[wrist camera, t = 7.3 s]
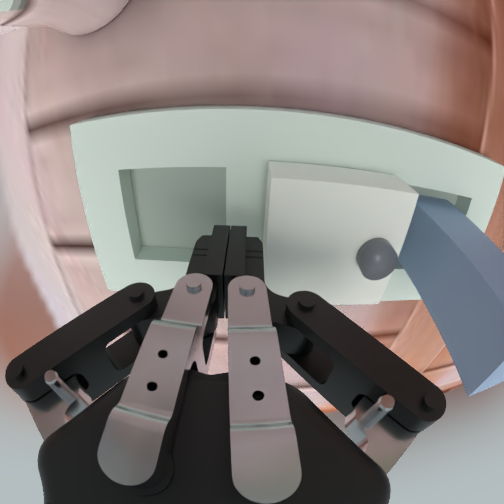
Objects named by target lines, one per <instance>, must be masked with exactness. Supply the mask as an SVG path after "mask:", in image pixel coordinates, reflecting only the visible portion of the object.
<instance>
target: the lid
mask: <svg viewBox="0 0 504 504" xmlns="http://www.w3.org/2000/svg"><path fill="white" fill-rule="evenodd" d="M418 196H419V194H418V193H417V192H416V191H415V190H413V189H412V188H411V187H410V186H409V185H408V184H406V183H405V182H404V181H403V180H401V179H400V178H399V177H398V176H396V175H390V174H384V173H378V172H371V171H364V170H357V169H350V168H342V167H333V166H324V165H315V164H304V163H292V162H277V161H268V176H267V191H266V205H265V219H264V233H263V258H264V280H265V284H266V286H267V287H268V288H269V289H270V290H271V291H272V292H274V293H276V294H278V295H281V296H285V297H289V296H290V295H291V294H292V293H294V292H297V291H310V292H313V293H316V294H317V295H319V296H320V297H322V298H323V299H324V300H326V301H327V302H328V303H329V304H331V305H360V304H379V302H380V300H381V298H382V296H383V293H384V291H385V289H386V286H387V284H388V282H389V279H390V277H391V274H392V272H393V270H394V269H395V268H396V266H397V263H398V257H399V254H400V251H401V248H402V246H403V243H404V240H405V237H406V234H407V231H408V228H409V225H410V222H411V219H412V216H413V213H414V210H415V206H416V203H417V199H418Z"/></svg>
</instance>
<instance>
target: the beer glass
mask: <svg viewBox="0 0 504 504" xmlns="http://www.w3.org/2000/svg"><path fill="white" fill-rule="evenodd" d="M128 2H129V0H0V34H3V33H7V32H10V31H14V30H18V29H23V28H28V27H34V26H47V27H52V28H55V29H57V30H59V31H62V32H64V33H67V34H70V35H84V34H88V33H91V32H94V31H96V30H98V29H100V28H102V27H103V26H105V25H106V24H108V23H109V22H110V21H112V20H113V19H114V18H115V17H116V16H117V15H118V14H119V13H120V12H121V11H122V10H123V9H124V7H125V6H126V5H127V3H128Z"/></svg>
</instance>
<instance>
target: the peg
mask: <svg viewBox="0 0 504 504" xmlns="http://www.w3.org/2000/svg"><path fill="white" fill-rule="evenodd" d="M398 260H399V261H400V263H401V265H402V266H403V268H404V269H405V271H406V273H407V274H408V276H409V278H410V279H411V281H412V283H413V284H414V286H415V288H416V289H417V291H418V293H419V295H420V296H421V298H422V300H423V302H424V303H425V305H426V307H427V309H428V311H429V313H430V314H431V316H432V318H433V320H434V322H435V324H436V326H437V328H438V330H439V332H440V334H441V336H442V338H443V340H444V342H445V344H446V346H447V348H448V351H449V353H450V355H451V357H452V359H453V362H454V364H455V366H456V368H457V371H458V373H459V375H460V378H461V380H462V383H463V385H464V388H465V390H466V393H467V396H471V395H473V394H475V393H478V392H480V391H483V390H485V389H487V388H490V387H492V386H494V385H496V384H498V383H500V382H502V381H504V253H503V252H502V251H501V250H500V249H499V248H498V247H497V246H496V245H495V244H494V243H493V242H492V241H491V240H490V239H489V238H488V237H487V236H486V235H485V234H484V233H483V232H482V231H481V230H480V229H479V228H478V227H477V226H476V225H475V224H474V223H473V222H472V221H471V220H470V219H469V218H468V217H466V216H465V215H464V214H463V213H462V212H461V211H460V210H459V209H457V208H456V207H455V206H454V205H453V204H452V203H451V202H449V201H448V200H446V199H441V198H436V197H430V196H425V195H419V196H418V199H417V203H416V206H415V210H414V213H413V216H412V219H411V222H410V225H409V228H408V231H407V234H406V237H405V240H404V243H403V246H402V248H401V251H400V254H399V257H398Z"/></svg>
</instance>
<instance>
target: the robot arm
mask: <svg viewBox="0 0 504 504" xmlns="http://www.w3.org/2000/svg"><path fill="white" fill-rule="evenodd" d="M224 314H226V318H228V369H229V372H228V373H222V374H215V375H208V370H209V365H210V360H211V356H212V351H213V346H214V342H215V337H216V328H217V323H218V318H224ZM130 328H131V330H132V331H130V332H129V333H127V334H126V335H124V336H123V337H122V338H120V339H119V340H117V341H116V342H114V343H113V344H111V345H110V346H108V347H107V348H106V346H107V344H108V343H109V342H111V341H112V340H113V339H115V338H116V337H118V336H119V335H121V334H122V333H124V332H125V331H127V330H128V329H130ZM281 357H282V358H283V359H284V360H285V361H286V362H287V363H288V364H289V365H290V366H291V367H292V368H293V369H294V370H295V371H296V372H297V373H298V374H299V375H300V376H301V377H303V378H304V379H305V380H306V381H307V382H308V383H309V384H310V385H311V386H312V387H313V388H314V389H315V390H317V391H318V392H319V393H320V394H321V395H322V396H323V397H324V398H325V399H326V400H327V401H329V402H330V403H331V404H332V405H333V406H334V407H335V408H336V409H338V410H339V411H340V412H341V413H342V414H343V415H344V416H345V417H346V419H345V430H346V432H347V434H348V435H349V436H350V438H351V439H352V440H351V439H350V438H348V437H347V436H346V435H345V434H344V433H343V432H342V431H341V430H340V429H339V428H338V427H337V426H336V425H335V424H334V423H333V422H332V421H331V420H330V419H329V418H328V417H327V416H326V415H325V414H324V413H323V412H322V411H321V410H320V409H319V408H318V407H317V406H316V405H315V404H314V403H313V402H312V401H311V400H310V399H309V398H308V397H307V396H306V395H305V394H304V393H302V392H301V391H300V390H298V389H297V388H295V387H294V386H292V385H290V384H288V383H285V379H284V372H283V366H282V360H281ZM129 374H130V376H128V375H129ZM127 376H128V377H127ZM125 377H126V378H125ZM5 378H6V382H7V384H8V385H9V386H10V387H11V388H12V389H13V390H14V391H15V392H16V393H17V394H18V395H19V396H20V397H21V399H22V400H23V401H25V402H26V404H27V406H28V408H29V411H30V413H31V415H32V417H33V419H34V422H35V423H36V426H37V428H38V430H39V432H40V434H41V436H42V438H43V439H44V442H43V444H42V445H41V448H40V450H39V454H38V469H39V473H40V477H41V480H42V486H43V492H44V504H388V503H389V499H390V483H389V479H388V477H387V475H386V474H387V473H388V472H389V471H390V470H391V468H392V467H393V466H394V465H395V464H396V462H397V461H398V460H399V458H400V457H401V456H402V455H403V453H404V452H405V451H406V450H407V448H408V447H409V445H410V444H411V443H412V441H413V440H414V438H415V437H416V436H417V434H418V433H420V432H421V431H423V430H424V429H426V428H427V427H429V426H430V425H431V424H433V423H434V422H435V421H437V420H438V419H439V418H441V416H442V415H443V414H444V412H445V408H446V399H445V396H444V394H443V392H442V391H441V390H440V389H439V388H438V387H437V386H436V385H434V384H433V383H432V382H431V381H429V380H428V379H427V378H425V377H424V376H423V375H422V374H420V373H419V372H418V371H416V370H415V369H414V368H413V367H411V366H410V365H409V364H407V363H406V362H405V361H404V360H402V359H401V358H400V357H398V356H397V355H396V354H394V353H393V352H392V351H391V350H389V349H388V348H387V347H385V346H384V345H383V344H382V343H380V342H379V341H378V340H376V339H375V338H374V337H372V336H371V335H370V334H369V333H367V332H366V331H365V330H363V329H362V328H361V327H359V326H358V325H357V324H356V323H354V322H353V321H352V320H350V319H349V318H348V317H346V316H345V315H344V314H343V313H341V312H340V311H339V310H337V309H336V308H335V307H333V306H332V305H331V304H329V303H328V302H327V301H326V300H324V299H323V298H322V297H320V296H319V295H317V294H316V293H313V292H310V291H297V292H294V293H292V294H291V295H290V296H289V297H285V296H281V295H278V294H276V293H274V292H272V291H271V290H270V289H269V288H268V287H267V286H266V284H265V280H264V258H263V243H262V242H261V240H260V239H259V238H258V237H247V226H234V225H231V230H230V225H214V228H213V232H212V235H202V236H201V237H200V238H199V239H198V240H197V241H196V243H195V246H194V250H193V252H192V256H191V259H190V262H189V265H188V269H187V272H186V275H185V276H183V277H181V278H180V279H179V280H178V281H177V283H176V285H175V287H174V288H172V289H168V290H163V291H157V292H155V291H154V288H153V287H152V286H151V285H149V284H147V283H143V282H138V283H133V284H130V285H128V286H127V287H125V288H123V289H122V290H120V291H118V292H117V293H115V294H113V295H112V296H110V297H108V298H107V299H105V300H104V301H102V302H100V303H99V304H97V305H95V306H94V307H92V308H91V309H89V310H87V311H86V312H84V313H83V314H81V315H80V316H78V317H76V318H75V319H73V320H72V321H70V322H69V323H67V324H65V325H64V326H62V327H61V328H59V329H58V330H56V331H55V332H53V333H52V334H50V335H49V336H47V337H45V338H44V339H43V340H41V341H39V342H38V343H36V344H35V345H33V346H32V347H30V348H29V349H27V350H26V351H24V352H23V353H22V354H20V355H19V356H17V357H16V358H14V359H13V360H12V361H11V362H10V363H9V365H8V367H7V369H6V374H5ZM124 378H125V379H124ZM122 379H123V380H122ZM118 382H119V383H118ZM114 385H115V386H114ZM113 386H114V387H113ZM111 387H112V388H111ZM110 388H111V389H110ZM109 389H110V390H109ZM107 390H109V391H107ZM106 391H107V392H106ZM105 392H106V393H105ZM103 393H105V394H104V395H102V394H103ZM100 395H102V396H101V397H99V396H100ZM98 397H99V398H98ZM96 398H98V399H97V400H96V401H94V402H93V403H92V401H93V400H95V399H96Z"/></svg>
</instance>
